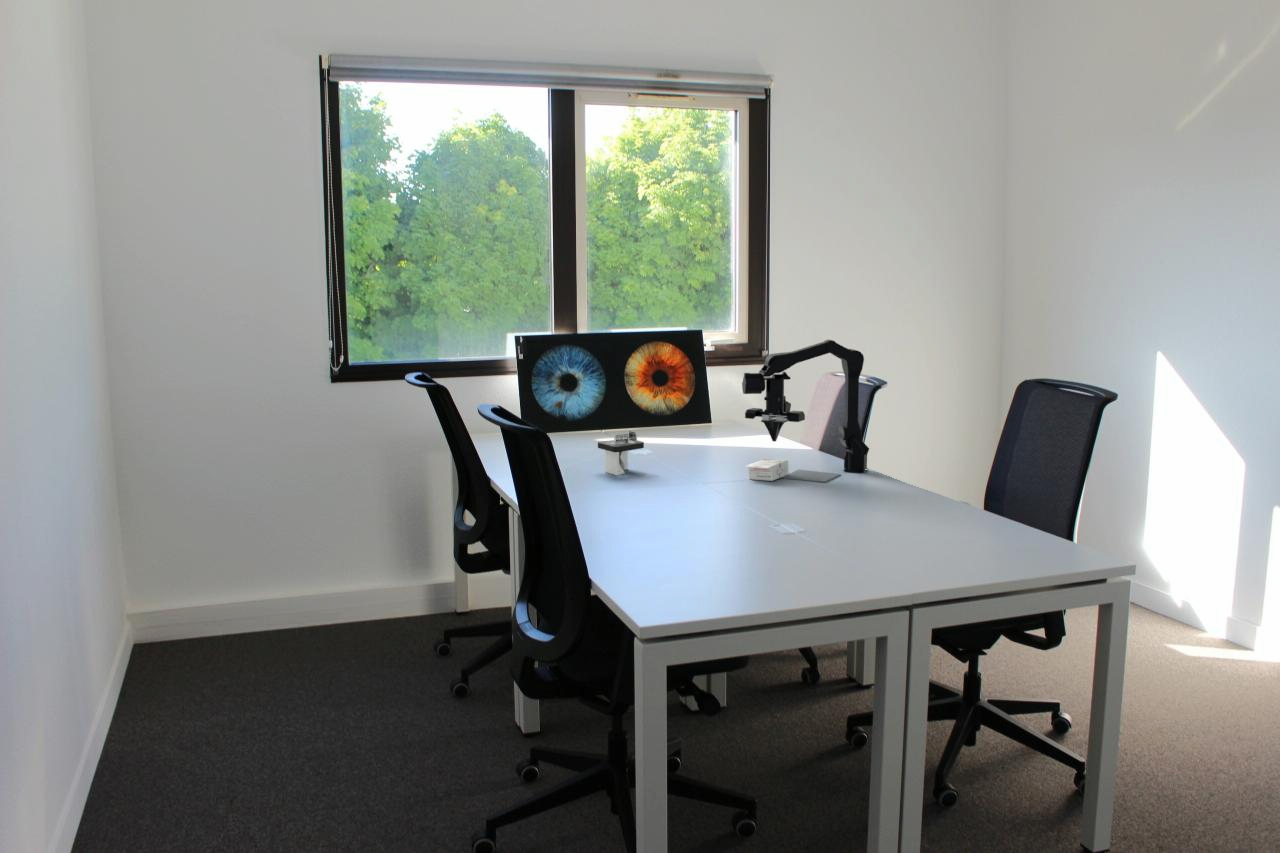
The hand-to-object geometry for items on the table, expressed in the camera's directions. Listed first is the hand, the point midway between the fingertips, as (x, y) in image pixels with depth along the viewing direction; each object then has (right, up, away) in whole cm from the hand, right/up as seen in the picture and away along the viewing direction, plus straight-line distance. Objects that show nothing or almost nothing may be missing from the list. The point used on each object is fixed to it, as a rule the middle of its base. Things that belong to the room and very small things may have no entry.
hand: (774, 441), depth 352 cm
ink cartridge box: (+1, -8, -2) cm, 8 cm away
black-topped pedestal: (-49, -11, +2) cm, 50 cm away
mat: (+11, -11, -5) cm, 17 cm away
